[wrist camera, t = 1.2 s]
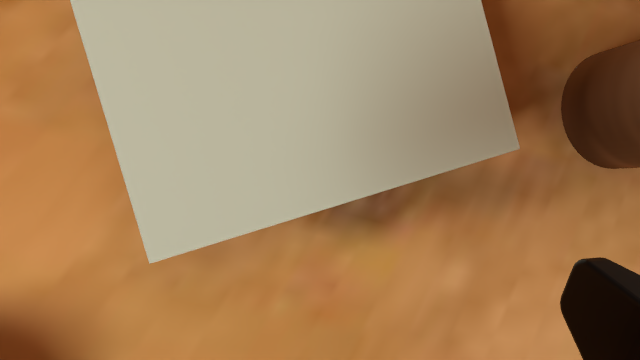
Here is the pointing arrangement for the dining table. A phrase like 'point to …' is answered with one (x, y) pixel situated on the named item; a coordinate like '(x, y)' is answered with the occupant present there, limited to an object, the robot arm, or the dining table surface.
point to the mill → (605, 107)
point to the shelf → (286, 105)
